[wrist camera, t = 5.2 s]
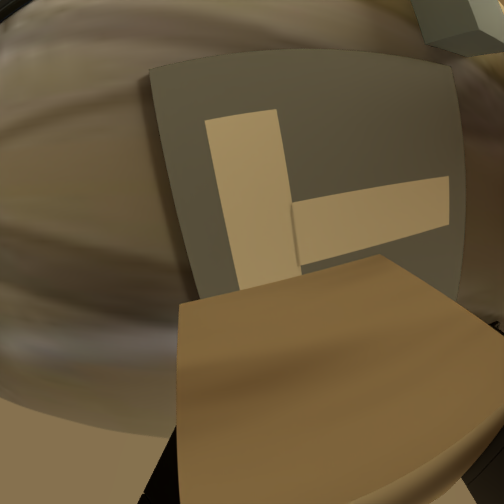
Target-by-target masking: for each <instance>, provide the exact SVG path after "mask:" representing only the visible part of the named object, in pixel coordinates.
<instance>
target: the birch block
mask: <svg viewBox="0 0 504 504" xmlns="http://www.w3.org/2000/svg"><path fill="white" fill-rule="evenodd" d="M176 424H177V458H178V478H179V493H180V504H429V503H431V502H433V501H434V500H436V499H437V498H439V497H440V496H441V495H443V494H444V493H446V492H447V491H448V490H449V489H450V488H451V487H452V486H453V485H454V484H455V483H456V482H457V481H458V480H459V479H460V478H461V477H462V476H463V475H464V473H465V472H466V471H467V470H468V469H469V468H470V467H471V466H472V465H473V463H474V462H475V461H476V460H477V459H478V458H479V456H480V455H481V454H482V453H483V452H484V450H485V449H486V448H487V447H488V445H489V444H490V443H491V442H492V440H493V439H494V438H495V436H496V435H497V434H498V432H499V431H500V429H501V428H502V427H503V425H504V336H503V335H501V334H500V333H499V332H497V331H496V330H495V329H493V328H492V327H490V326H489V325H488V324H486V323H485V322H483V321H482V320H481V319H479V318H478V317H476V316H475V315H474V314H472V313H471V312H469V311H468V310H466V309H465V308H463V307H462V306H461V305H459V304H458V303H456V302H455V301H453V300H452V299H450V298H449V297H447V296H446V295H444V294H443V293H441V292H440V291H438V290H437V289H435V288H434V287H432V286H430V285H429V284H427V283H426V282H424V281H423V280H421V279H420V278H418V277H416V276H415V275H413V274H412V273H410V272H408V271H407V270H405V269H404V268H402V267H400V266H399V265H397V264H395V263H394V262H392V261H391V260H389V259H387V258H386V257H384V256H382V255H381V254H378V255H374V256H371V257H367V258H364V259H360V260H356V261H353V262H349V263H345V264H342V265H338V266H334V267H331V268H327V269H323V270H319V271H315V272H312V273H308V274H304V275H300V276H296V277H292V278H288V279H284V280H280V281H276V282H272V283H268V284H264V285H260V286H256V287H252V288H248V289H243V290H239V291H235V292H231V293H226V294H222V295H218V296H213V297H209V298H205V299H200V300H196V301H191V302H187V303H182V304H179V321H178V343H177V379H176Z"/></svg>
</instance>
